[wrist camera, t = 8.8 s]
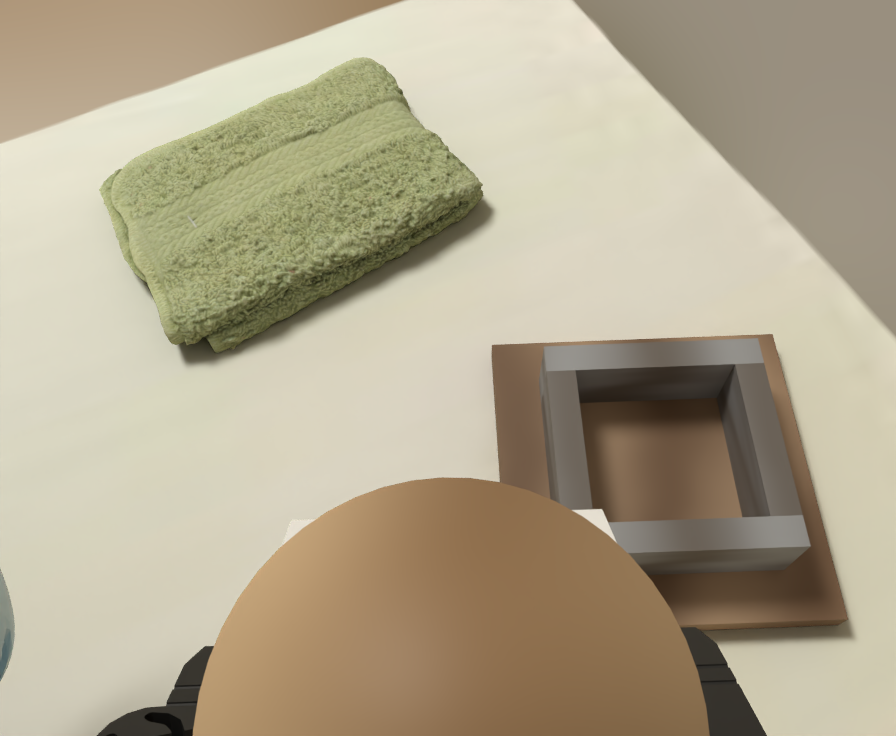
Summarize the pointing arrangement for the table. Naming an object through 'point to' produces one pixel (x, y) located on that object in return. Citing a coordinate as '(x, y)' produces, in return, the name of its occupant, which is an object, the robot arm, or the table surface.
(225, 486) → the table surface
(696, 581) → the socket board
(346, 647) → the oak pin
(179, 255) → the washcloth
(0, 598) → the robot arm
